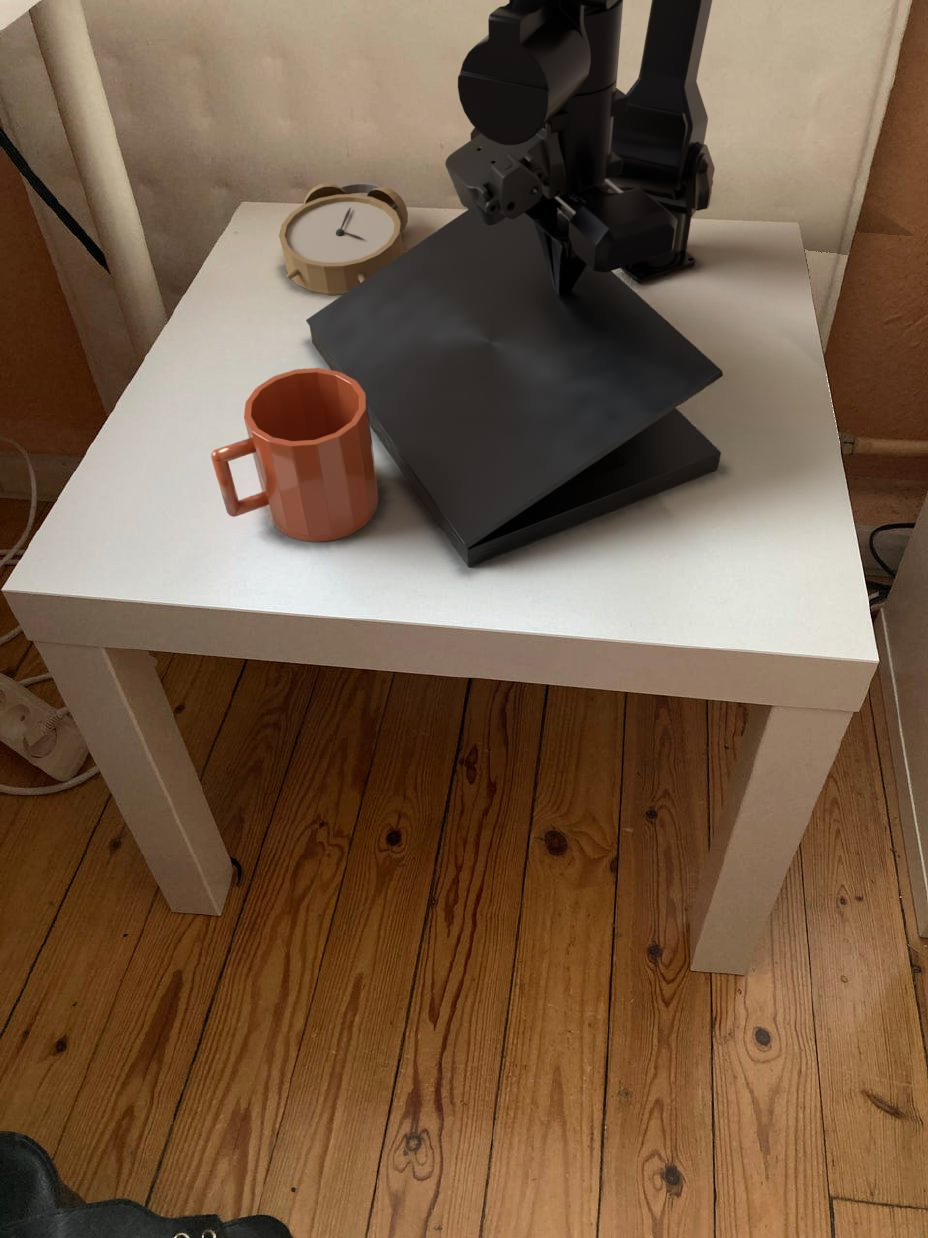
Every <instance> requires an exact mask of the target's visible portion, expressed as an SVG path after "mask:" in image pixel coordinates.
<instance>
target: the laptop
mask: <svg viewBox="0 0 928 1238" xmlns="http://www.w3.org/2000/svg"><path fill="white" fill-rule="evenodd" d="M309 332H310V337H311V342H312V343H311V344H312V346H314V348H315V349H316V350H317V352H318V354H319V356H321V358H322V359H323V361H324V362H325V364H326V365H327V366H328V368H329V370H333V371H338V372H341V373H342V371H341V370H340V368H339V367H338V366H337V364H336V363H335V361H334V360H333V358H332V357H331V356H330V354H329V353H328V351H327V350H326V349H325V347H324V346H323V344H322V343H321V341H320V340H319V339H318V337H317V336H316V334H315V333H314V332H313V330H312V329H311V327H310V326H309ZM368 414H369V422H370V429H371V430H372V431H373V432H374V434H375V436H376V437H377V438H378V440H379V441H380V442H381V444H382V445H383V447H384V448H385V450H386V451H387V452H388V454H389V455H390V457H391V458H392V460H393V461H394V463H395V464H396V465H397V467H398V468H399V470H400V471H401V473H402V474H403V475H404V477H405V478H406V480H407V482H409V484H410V486H411V487H412V489H413V490H414V491H415V493H416V494H417V496H418V497H419V498H420V500H421V502H422V503H423V504H424V505H425V507H426V508H427V510H428V511H429V513H430V514H431V516H432V517H433V519H434V520H435V521H436V523H437V525H438V526H439V527H440V529H441V530H442V531H443V533H444V534H445V536H446V537H447V539H448V540H449V542H450V543H451V544H452V546H453V548H454V549H455V551H457V553H458V554H459V556H460V557H461V559H462V560H463V562H464V563H465V564H466V566H467V568H472V567H473V566H476V565H478V564H482V563H484V562H486V561H489V560H491V559H494V558H496V557H500V556H502V555H504V554H506V553H509V552H511V551H514V550H517V549H520V548H521V547H525V546H527V545H529V544H533V543H535V542H538V541H540V540H543V539H545V538H548V537H550V536H553V535H556V534H558V533H560V532H563V531H567V530H568V529H570V528H574V527H576V526H578V525H581V524H582V523H583V524H584V523H586V522H589V521H591V520H594V519H596V518H599V517H601V516H603V515H607V514H609V513H612V512H614V511H617V510H620V509H621V508H625V507H627V506H630V505H632V504H635V503H638V502H640V501H642V500H645V499H648V498H650V497H653V496H656V495H657V494H660V493H663V492H665V491H669V490H671V489H674V488H675V487H678V486H681V485H683V484H686V483H689V482H690V481H694V480H696V479H699V478H701V477H703V476H706V475H708V474H712V473H713V472H716V471H718V469H719V465H720V461H721V457H722V451H721V450H720V449H719V448H718V447H717V446H716V445H715V444H713V442H712V441H711V440H709V438H707V437H706V435H704V434H703V433H702V432H701V431H700V430H699V429H698V427H696V426H695V425H694V424H693V423H692V422H691V421H690V420H689V419H688V418H687V417H686V416H685V415H684V413H682V412H681V411H680V410H679V409H678V407H676V408H675V409H673V410H672V411H671V412H669V413H668V414H666V415H665V416H663V417H662V418H660V419H659V420H657V421H656V422H654V423H653V424H651V425H650V426H648V427H647V428H645V429H644V430H642V431H641V432H639V433H638V434H636V435H635V436H634V437H632V438H631V439H629V440H628V441H626V442H625V443H623V444H622V445H620V446H619V447H617V448H616V449H614V450H613V451H611V452H610V453H608V454H607V455H605V456H604V457H602V458H601V459H599V460H598V461H597V462H595V463H594V464H592V465H591V466H589V467H588V468H586V469H585V470H583V471H582V472H580V473H579V474H577V475H576V476H574V477H573V478H571V479H570V480H568V481H567V482H565V483H564V484H563V485H561V486H560V487H558V488H557V489H555V490H554V491H552V492H551V493H549V494H548V495H546V496H545V497H543V498H542V499H540V500H539V501H537V502H536V503H534V504H533V505H531V506H530V507H528V508H527V509H526V510H524V511H523V512H521V513H520V514H518V515H517V516H515V517H514V518H512V519H511V520H509V521H508V522H506V523H505V524H503V525H502V526H500V527H499V528H497V529H496V530H494V531H493V532H491V533H490V534H489V535H487V536H486V537H484V538H483V539H481V540H480V541H478V542H477V543H475V544H474V545H472V546H471V547H469V548H468V549H467V548H466V547H465V545H464V544H463V542H462V541H461V540H460V538H459V537H458V535H457V534H456V533H455V531H454V530H453V528H452V527H451V525H450V524H449V523H448V521H447V520H446V518H445V517H444V516H443V514H442V513H441V511H440V510H439V508H438V507H437V506H436V504H435V503H434V501H433V500H432V499H431V497H430V496H429V494H428V493H427V492H426V490H425V489H424V487H423V486H422V484H421V483H420V482H419V480H418V479H417V477H416V476H415V475H414V473H413V472H412V470H411V469H410V467H409V466H408V465H407V463H406V462H405V460H404V459H403V458H402V456H401V455H400V453H399V452H398V450H397V449H396V448H395V446H394V445H393V443H392V442H391V441H390V439H389V438H388V436H387V435H386V433H385V432H384V431H383V429H382V428H381V426H380V425H379V424H378V422H377V421H376V419H375V418H374V416H373V415H372V414H371V412H370V411H369V409H368Z"/></svg>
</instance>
